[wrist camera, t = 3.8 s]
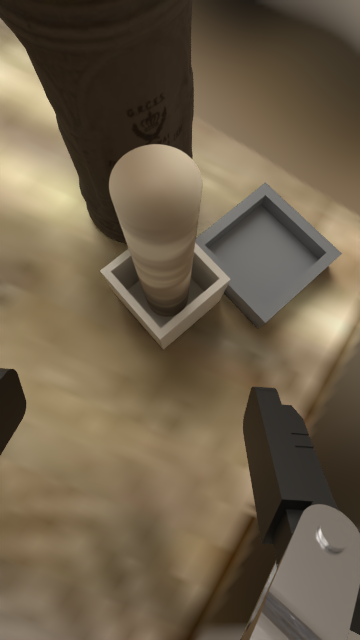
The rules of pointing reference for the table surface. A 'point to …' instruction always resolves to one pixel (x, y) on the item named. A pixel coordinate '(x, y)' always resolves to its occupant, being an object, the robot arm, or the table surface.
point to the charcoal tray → (266, 253)
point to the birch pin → (159, 220)
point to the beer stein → (110, 81)
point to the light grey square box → (202, 295)
